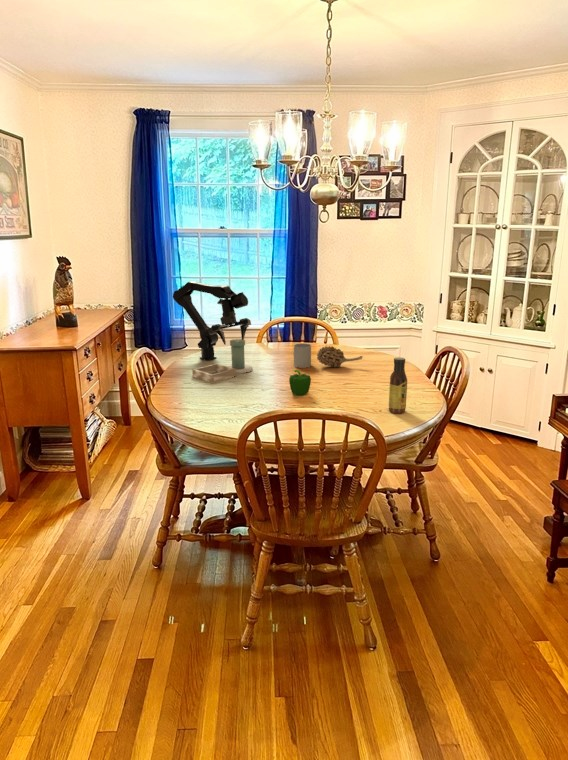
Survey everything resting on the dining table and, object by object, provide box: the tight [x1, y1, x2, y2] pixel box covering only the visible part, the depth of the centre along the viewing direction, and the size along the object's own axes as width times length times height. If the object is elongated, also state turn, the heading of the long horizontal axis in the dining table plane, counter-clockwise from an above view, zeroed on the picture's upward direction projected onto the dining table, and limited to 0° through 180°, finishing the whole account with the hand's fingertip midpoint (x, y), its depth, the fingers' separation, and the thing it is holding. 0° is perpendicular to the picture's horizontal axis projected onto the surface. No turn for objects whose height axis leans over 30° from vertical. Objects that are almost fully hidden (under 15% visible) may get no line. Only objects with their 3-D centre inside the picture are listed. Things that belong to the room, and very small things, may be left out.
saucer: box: [228, 364, 254, 374], centre depth 263 cm, size 12×12×1 cm
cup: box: [293, 343, 312, 369], centre depth 269 cm, size 8×8×10 cm
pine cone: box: [316, 345, 364, 368], centre depth 265 cm, size 22×10×10 cm, turn 85°
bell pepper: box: [288, 369, 312, 397], centre depth 225 cm, size 8×8×10 cm
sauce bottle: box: [388, 356, 408, 414], centre depth 203 cm, size 7×6×20 cm
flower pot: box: [229, 338, 246, 370], centre depth 261 cm, size 7×7×13 cm
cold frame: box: [191, 363, 238, 384], centre depth 252 cm, size 14×14×4 cm
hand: (233, 342), depth 271 cm, fingers open, 9 cm apart
